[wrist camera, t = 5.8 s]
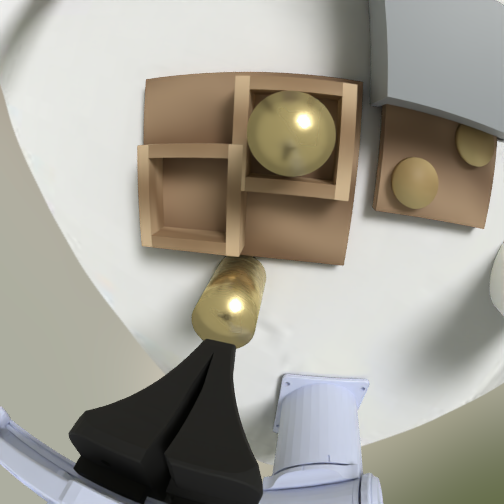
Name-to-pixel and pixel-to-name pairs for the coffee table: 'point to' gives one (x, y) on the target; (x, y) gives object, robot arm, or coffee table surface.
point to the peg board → (242, 170)
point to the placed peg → (291, 133)
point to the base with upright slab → (498, 281)
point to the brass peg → (231, 301)
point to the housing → (440, 59)
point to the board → (433, 168)
